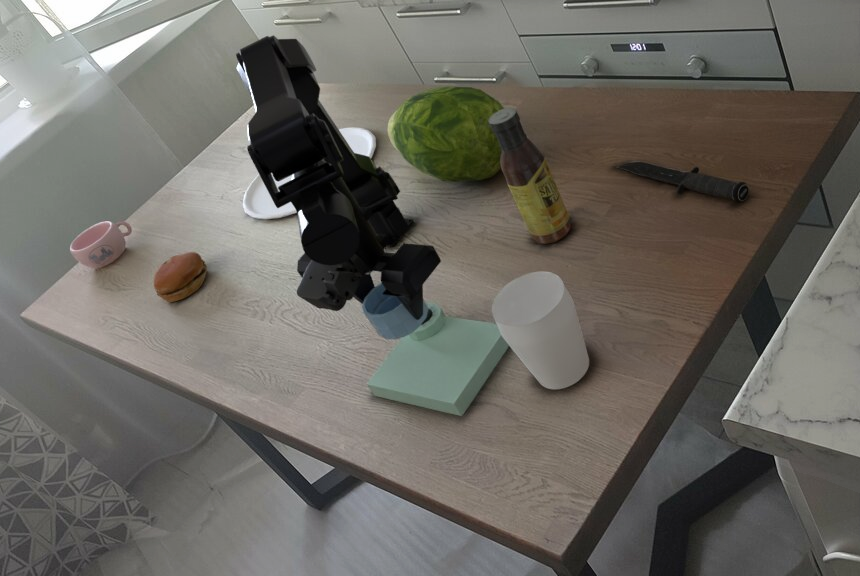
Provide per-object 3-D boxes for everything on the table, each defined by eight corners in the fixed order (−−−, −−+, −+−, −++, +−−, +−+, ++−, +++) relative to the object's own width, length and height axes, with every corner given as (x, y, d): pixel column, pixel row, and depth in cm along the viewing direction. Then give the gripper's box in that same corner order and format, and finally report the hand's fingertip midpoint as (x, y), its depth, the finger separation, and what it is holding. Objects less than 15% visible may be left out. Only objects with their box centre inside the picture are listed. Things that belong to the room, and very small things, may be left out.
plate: (401, 153, 160) (398, 148, 159) (269, 241, 153) (265, 236, 152) (346, 118, 182) (344, 113, 181) (229, 193, 175) (226, 189, 174)
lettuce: (438, 139, 159) (401, 67, 149) (544, 150, 141) (509, 69, 132) (386, 189, 152) (344, 116, 142) (490, 206, 134) (450, 125, 125)
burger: (181, 306, 146) (165, 287, 144) (154, 300, 152) (137, 281, 149) (221, 268, 152) (206, 248, 149) (193, 263, 157) (178, 244, 154)
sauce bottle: (569, 242, 120) (517, 125, 108) (529, 249, 122) (474, 135, 110) (576, 213, 124) (528, 98, 112) (537, 220, 127) (486, 108, 115)
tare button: (410, 324, 113) (405, 317, 112) (421, 310, 114) (416, 303, 113) (424, 326, 111) (420, 319, 110) (435, 312, 113) (431, 305, 112)
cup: (525, 354, 106) (488, 285, 98) (594, 332, 104) (561, 260, 97) (530, 407, 99) (491, 337, 91) (604, 384, 97) (569, 311, 90)
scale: (373, 395, 110) (358, 375, 108) (430, 320, 118) (418, 300, 115) (462, 416, 102) (448, 395, 99) (517, 333, 109) (505, 312, 107)
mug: (93, 280, 167) (72, 258, 164) (83, 265, 174) (63, 243, 171) (146, 244, 171) (127, 222, 167) (134, 230, 178) (116, 208, 175)
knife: (754, 187, 112) (743, 179, 111) (737, 219, 113) (726, 212, 111) (634, 145, 130) (623, 138, 129) (620, 173, 131) (609, 166, 129)
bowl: (369, 338, 104) (351, 313, 102) (400, 299, 108) (384, 273, 105) (408, 346, 100) (391, 320, 98) (440, 305, 104) (424, 278, 102)
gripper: (236, 258, 95) (307, 352, 104) (349, 272, 84) (418, 374, 94) (298, 196, 101) (360, 289, 110) (411, 201, 90) (469, 304, 100)
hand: (398, 314), depth 103 cm, fingers closed on bowl, 7 cm apart
